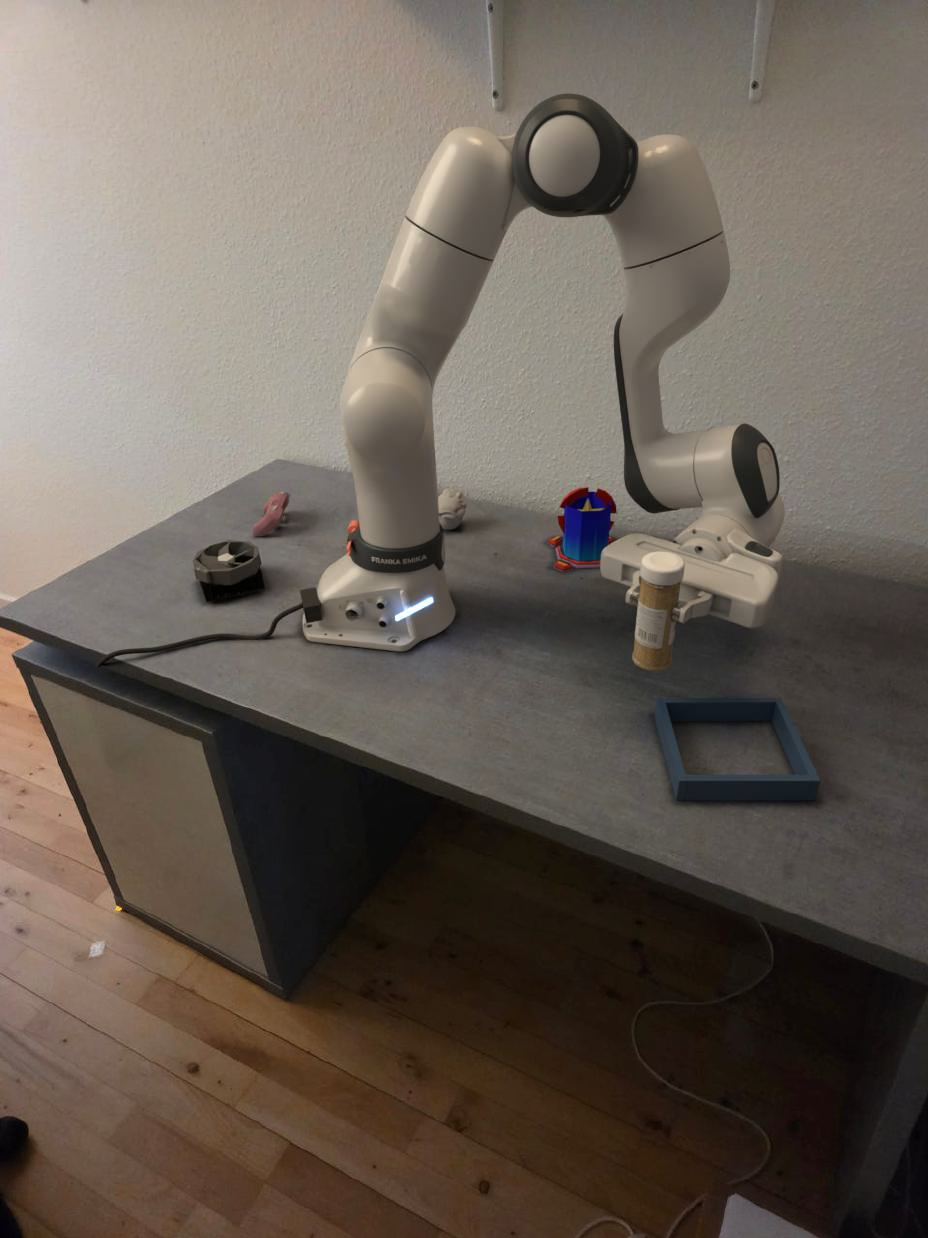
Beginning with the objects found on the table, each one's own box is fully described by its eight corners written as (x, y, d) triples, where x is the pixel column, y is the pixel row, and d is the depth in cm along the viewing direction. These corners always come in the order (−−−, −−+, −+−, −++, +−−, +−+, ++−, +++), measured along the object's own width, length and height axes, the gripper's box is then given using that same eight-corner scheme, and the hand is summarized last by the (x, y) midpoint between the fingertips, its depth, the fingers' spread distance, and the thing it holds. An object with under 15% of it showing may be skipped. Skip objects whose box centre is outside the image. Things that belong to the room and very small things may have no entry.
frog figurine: (475, 525, 141) (474, 489, 137) (449, 540, 137) (447, 503, 133) (449, 516, 144) (448, 480, 141) (423, 530, 140) (421, 494, 136)
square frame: (675, 800, 86) (679, 780, 84) (654, 716, 97) (656, 697, 95) (814, 800, 85) (820, 780, 83) (776, 716, 96) (781, 697, 95)
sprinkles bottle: (679, 663, 91) (694, 562, 84) (650, 677, 89) (663, 575, 82) (651, 644, 94) (663, 545, 87) (622, 658, 92) (632, 557, 85)
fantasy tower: (613, 535, 136) (619, 470, 129) (627, 570, 126) (633, 501, 120) (545, 538, 136) (547, 473, 129) (553, 573, 126) (555, 504, 120)
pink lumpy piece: (274, 545, 140) (286, 513, 137) (249, 535, 139) (261, 502, 136) (285, 520, 149) (297, 489, 145) (262, 510, 147) (273, 479, 144)
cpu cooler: (251, 533, 129) (265, 561, 121) (257, 564, 132) (271, 592, 124) (186, 547, 125) (196, 577, 118) (194, 578, 128) (204, 609, 121)
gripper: (634, 511, 99) (575, 555, 90) (797, 558, 88) (748, 614, 80) (629, 555, 103) (572, 601, 94) (785, 606, 92) (737, 663, 83)
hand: (654, 608), depth 87 cm, fingers closed on sprinkles bottle, 4 cm apart
